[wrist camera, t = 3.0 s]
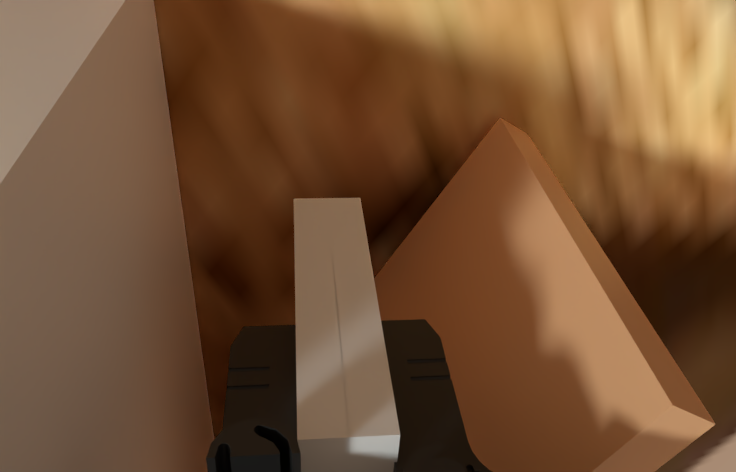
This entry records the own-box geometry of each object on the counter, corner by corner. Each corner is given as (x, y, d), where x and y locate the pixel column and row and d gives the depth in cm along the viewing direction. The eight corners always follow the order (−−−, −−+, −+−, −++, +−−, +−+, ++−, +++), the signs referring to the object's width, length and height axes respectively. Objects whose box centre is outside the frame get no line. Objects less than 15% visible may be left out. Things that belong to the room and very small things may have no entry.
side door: (499, 116, 18) (672, 405, 10) (558, 152, 19) (763, 445, 11) (224, 469, 26) (195, 796, 18) (275, 484, 27) (270, 802, 18)
